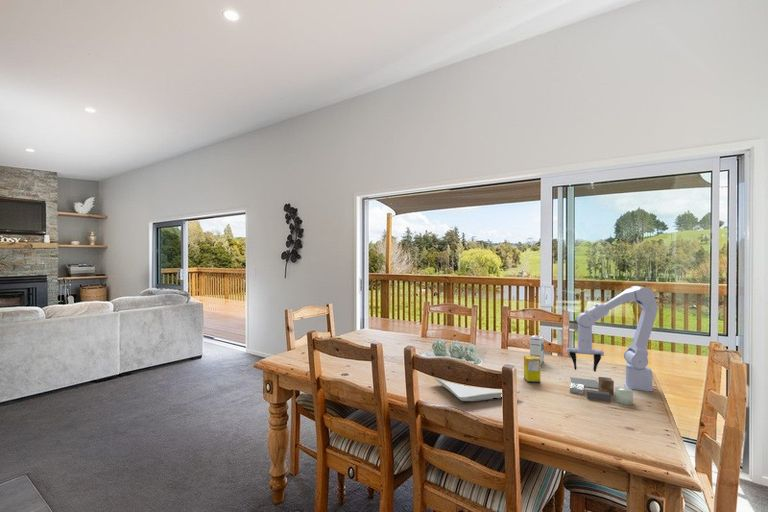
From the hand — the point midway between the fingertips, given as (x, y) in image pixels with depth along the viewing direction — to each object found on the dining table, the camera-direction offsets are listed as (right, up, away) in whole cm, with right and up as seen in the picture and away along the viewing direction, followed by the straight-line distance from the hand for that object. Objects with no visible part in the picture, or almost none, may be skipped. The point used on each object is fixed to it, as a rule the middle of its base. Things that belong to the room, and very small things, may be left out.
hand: (584, 370), depth 168 cm
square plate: (-52, -7, -8) cm, 53 cm away
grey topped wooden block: (-8, -7, -9) cm, 13 cm away
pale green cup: (+4, -6, -20) cm, 22 cm away
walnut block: (+3, -6, -11) cm, 13 cm away
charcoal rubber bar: (-4, -7, -17) cm, 19 cm away
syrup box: (-9, -6, +31) cm, 33 cm away
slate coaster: (0, -6, 0) cm, 6 cm away
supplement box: (-22, -6, +4) cm, 24 cm away
